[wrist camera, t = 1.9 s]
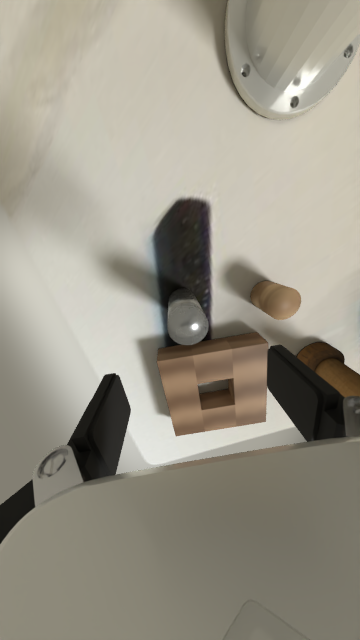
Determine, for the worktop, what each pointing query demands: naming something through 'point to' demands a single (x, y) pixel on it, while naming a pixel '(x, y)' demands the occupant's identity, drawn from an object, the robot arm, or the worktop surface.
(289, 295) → the short pin
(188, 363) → the hole plate
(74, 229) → the worktop surface
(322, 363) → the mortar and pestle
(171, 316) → the long pin
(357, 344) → the worktop surface
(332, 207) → the worktop surface
